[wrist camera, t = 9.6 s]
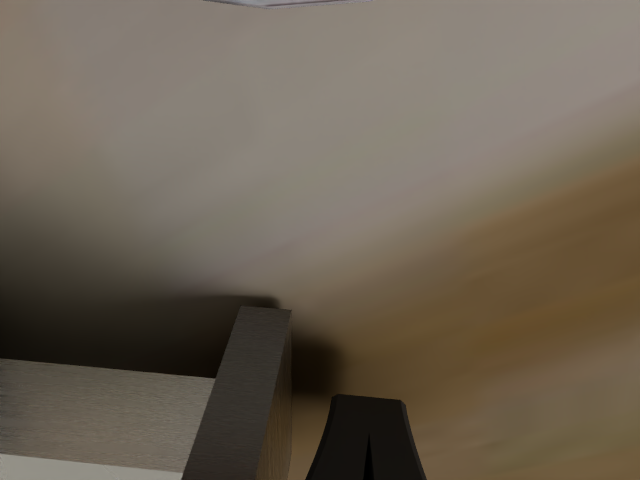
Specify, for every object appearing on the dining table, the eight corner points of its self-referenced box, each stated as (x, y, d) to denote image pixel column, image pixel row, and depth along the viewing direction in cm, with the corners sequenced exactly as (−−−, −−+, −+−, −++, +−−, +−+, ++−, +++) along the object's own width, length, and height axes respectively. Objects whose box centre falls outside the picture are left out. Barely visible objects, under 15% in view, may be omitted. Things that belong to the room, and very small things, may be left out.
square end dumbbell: (291, 453, 13) (260, 650, 9) (9, 424, 13) (-116, 602, 10) (291, 309, 10) (249, 505, 7) (-52, 280, 11) (-244, 451, 8)
